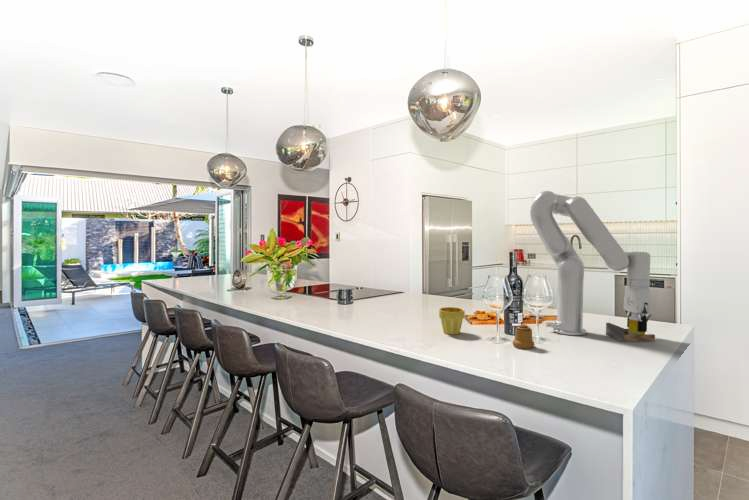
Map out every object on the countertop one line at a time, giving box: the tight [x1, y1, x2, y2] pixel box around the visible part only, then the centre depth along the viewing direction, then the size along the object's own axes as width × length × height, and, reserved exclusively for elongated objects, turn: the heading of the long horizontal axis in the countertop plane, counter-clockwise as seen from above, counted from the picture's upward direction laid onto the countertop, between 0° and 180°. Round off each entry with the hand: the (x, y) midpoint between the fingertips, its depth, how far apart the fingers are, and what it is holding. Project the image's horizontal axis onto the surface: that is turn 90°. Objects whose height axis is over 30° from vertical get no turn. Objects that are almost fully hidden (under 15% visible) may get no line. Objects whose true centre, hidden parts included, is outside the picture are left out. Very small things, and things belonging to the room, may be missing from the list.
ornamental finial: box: [512, 323, 535, 350], centre depth 150 cm, size 8×8×8 cm
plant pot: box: [438, 306, 466, 336], centre depth 171 cm, size 10×10×10 cm
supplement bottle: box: [627, 312, 646, 335], centre depth 161 cm, size 6×6×10 cm
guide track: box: [605, 322, 656, 343], centre depth 161 cm, size 13×10×5 cm
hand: (636, 329), depth 161 cm, fingers closed on supplement bottle, 5 cm apart
